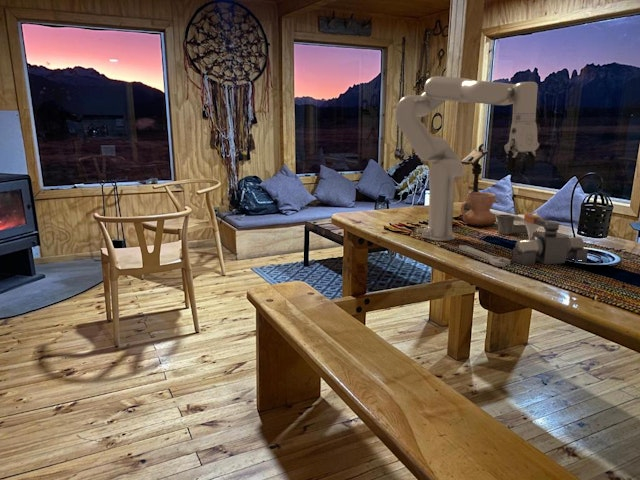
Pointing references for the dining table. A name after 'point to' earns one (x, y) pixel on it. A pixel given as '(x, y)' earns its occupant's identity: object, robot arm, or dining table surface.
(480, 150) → the bird statue
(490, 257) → the adjustable wrench
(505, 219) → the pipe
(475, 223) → the ceramic jug
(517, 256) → the valve body
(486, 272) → the dining table surface
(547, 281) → the dining table surface
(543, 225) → the lever
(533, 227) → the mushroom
